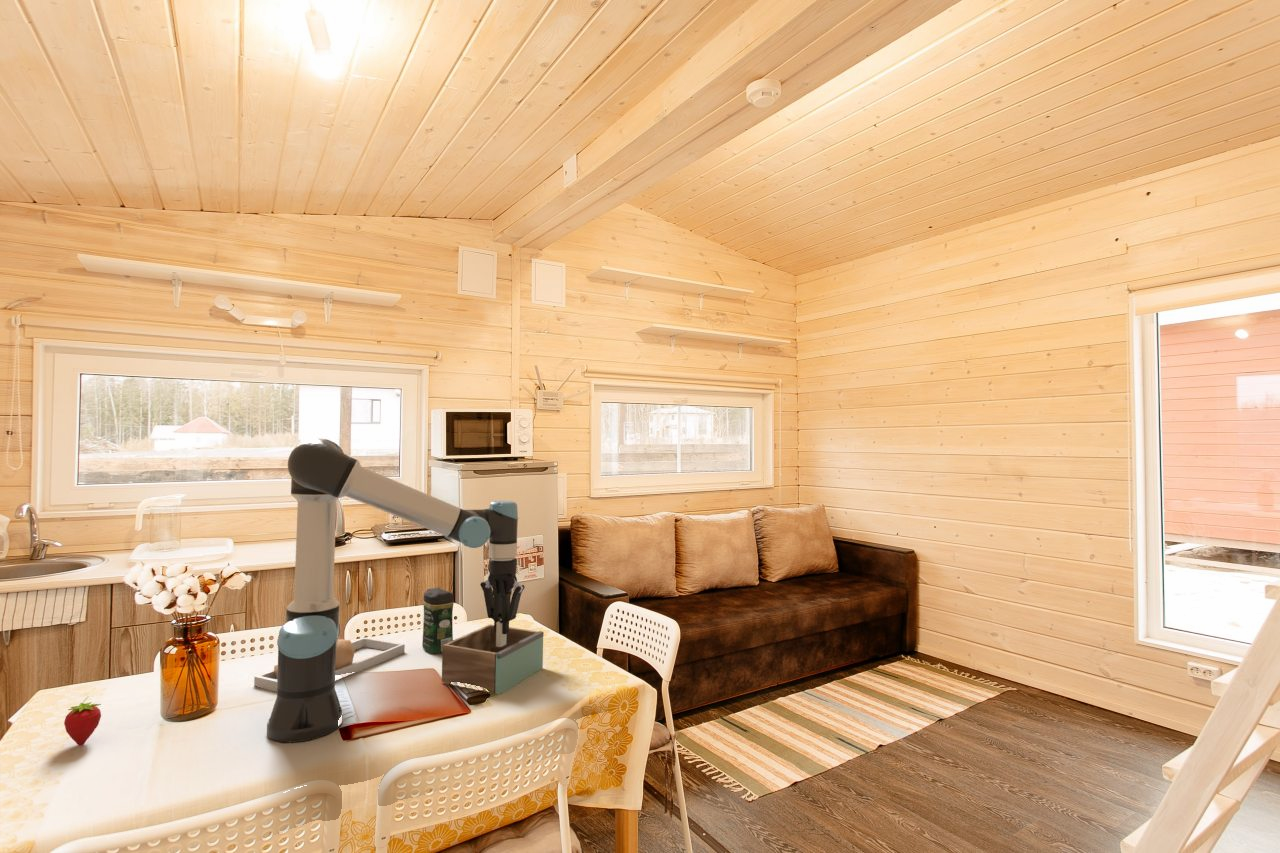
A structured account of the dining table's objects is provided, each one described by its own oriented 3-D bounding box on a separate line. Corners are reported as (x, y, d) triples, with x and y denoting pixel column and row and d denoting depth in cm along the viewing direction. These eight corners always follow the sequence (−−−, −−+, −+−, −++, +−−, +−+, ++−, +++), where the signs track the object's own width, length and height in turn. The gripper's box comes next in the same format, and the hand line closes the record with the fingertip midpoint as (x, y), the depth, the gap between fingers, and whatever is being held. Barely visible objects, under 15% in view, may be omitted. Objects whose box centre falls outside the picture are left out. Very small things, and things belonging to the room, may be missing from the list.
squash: (361, 673, 180) (359, 643, 178) (280, 699, 167) (278, 667, 166) (350, 655, 188) (348, 627, 186) (272, 679, 176) (269, 649, 174)
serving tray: (298, 696, 162) (298, 686, 162) (254, 686, 168) (254, 676, 169) (404, 652, 197) (404, 644, 197) (364, 645, 203) (364, 637, 203)
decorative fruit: (100, 734, 141) (101, 687, 141) (100, 747, 135) (102, 698, 135) (63, 741, 137) (65, 694, 137) (62, 755, 131) (64, 706, 131)
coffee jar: (418, 648, 201) (419, 588, 201) (442, 643, 206) (443, 584, 206) (431, 656, 194) (433, 594, 194) (456, 650, 199) (457, 590, 199)
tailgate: (499, 694, 163) (500, 654, 163) (494, 693, 164) (495, 653, 164) (542, 668, 183) (543, 631, 183) (538, 667, 183) (539, 631, 183)
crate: (494, 697, 164) (495, 654, 164) (441, 687, 170) (442, 645, 170) (537, 670, 183) (538, 631, 183) (489, 662, 190) (490, 624, 190)
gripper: (530, 557, 177) (529, 644, 177) (491, 553, 182) (489, 638, 182) (515, 562, 170) (513, 652, 170) (474, 558, 175) (472, 646, 175)
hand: (501, 645), depth 176 cm, fingers closed
